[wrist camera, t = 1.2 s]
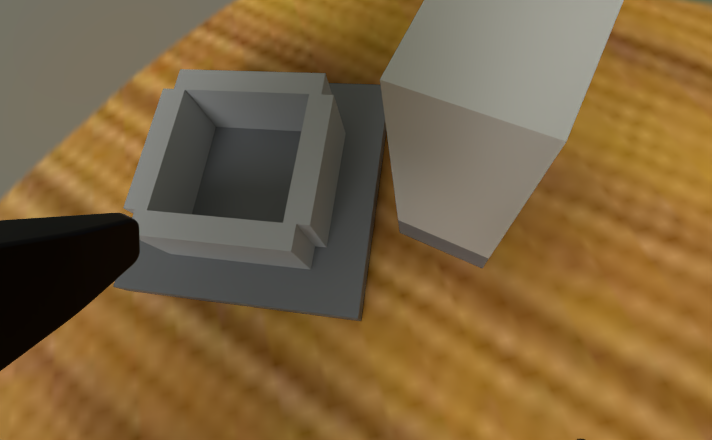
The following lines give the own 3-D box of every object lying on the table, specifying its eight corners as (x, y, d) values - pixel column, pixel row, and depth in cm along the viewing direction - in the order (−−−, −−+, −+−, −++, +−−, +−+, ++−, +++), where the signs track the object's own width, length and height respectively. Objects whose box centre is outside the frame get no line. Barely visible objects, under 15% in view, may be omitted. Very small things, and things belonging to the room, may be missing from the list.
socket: (361, 321, 21) (346, 309, 16) (128, 290, 23) (59, 272, 19) (390, 97, 25) (385, 39, 20) (190, 90, 27) (145, 36, 23)
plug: (482, 268, 21) (565, 141, 9) (399, 232, 22) (380, 79, 10) (515, 191, 22) (627, -10, 10) (434, 161, 23) (452, -51, 11)
